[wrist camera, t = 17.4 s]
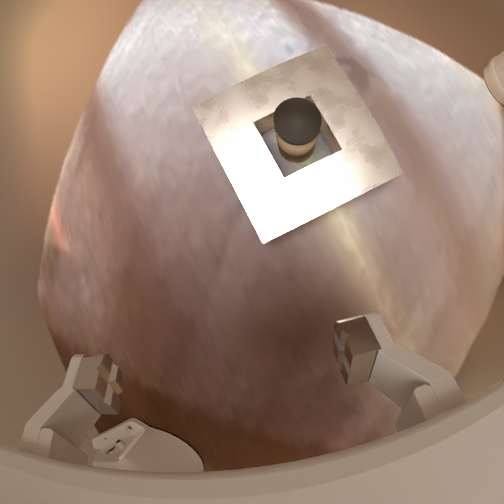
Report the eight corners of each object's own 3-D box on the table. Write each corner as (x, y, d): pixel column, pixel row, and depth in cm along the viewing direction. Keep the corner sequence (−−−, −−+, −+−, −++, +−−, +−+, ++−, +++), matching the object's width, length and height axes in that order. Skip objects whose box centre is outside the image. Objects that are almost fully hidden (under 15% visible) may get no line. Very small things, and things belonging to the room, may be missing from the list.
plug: (313, 163, 33) (322, 142, 23) (278, 162, 33) (273, 141, 23) (313, 129, 32) (320, 98, 22) (278, 129, 33) (273, 97, 23)
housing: (267, 240, 34) (262, 244, 30) (205, 122, 34) (192, 109, 29) (388, 178, 32) (403, 173, 27) (321, 65, 31) (324, 46, 26)
